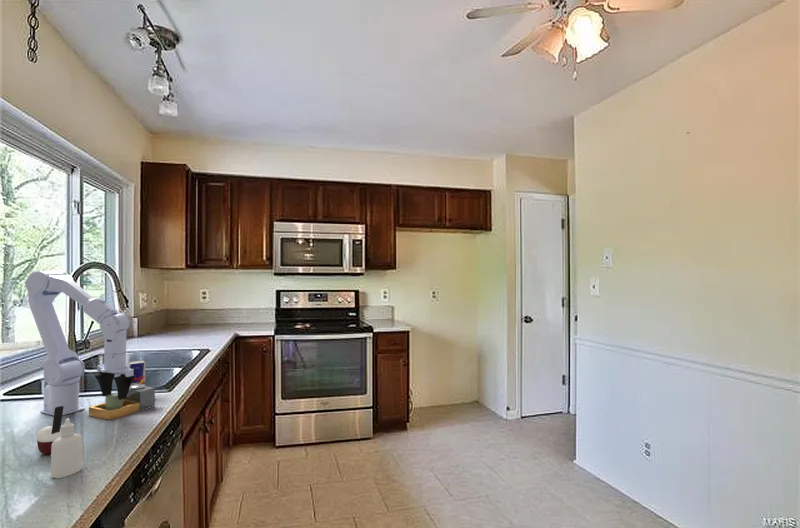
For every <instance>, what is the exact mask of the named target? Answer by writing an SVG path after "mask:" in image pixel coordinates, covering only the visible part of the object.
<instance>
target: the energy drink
mask: <svg viewBox="0 0 800 528" xmlns="http://www.w3.org/2000/svg"><path fill="white" fill-rule="evenodd" d="M127 367H129V368H130V369H134V371H133V375H135V378H134V380H133V382H132V383H131V385H133V384H144V385H145V386H146V362H145V360H131V361H128V364H127Z"/></svg>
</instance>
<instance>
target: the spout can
mask: <svg viewBox="0 0 800 528" xmlns="http://www.w3.org/2000/svg"><path fill="white" fill-rule="evenodd" d="M127 398H128V395H127ZM104 401H105V402H104V403H105V410H114V409H117V408H121V407H123V399H122V400H119V399H118V392H115V393H111V394H109V395H107V396H105V400H104Z"/></svg>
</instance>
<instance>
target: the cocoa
mask: <svg viewBox="0 0 800 528" xmlns="http://www.w3.org/2000/svg"><path fill="white" fill-rule="evenodd" d="M63 408H64V407H63V406H60V407H56V408H55V411H54V416H53V419H52V425H48V426H44V427H42V428H41V429H40V430H38V432H37V435H36V439H37V441H36V443H37V448H38V452H39V453H40V454H42V455H45V456H51V446H52V443H53V442H54V441H55V440H56V439H57V438H59V437H60V436H61V426H62V420H63V416H64V415H63Z"/></svg>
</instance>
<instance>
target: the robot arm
mask: <svg viewBox="0 0 800 528" xmlns="http://www.w3.org/2000/svg"><path fill="white" fill-rule="evenodd" d="M24 285H25V288H26V291H27V293H28V296H27V298H28V301H27V302H28V306H29V309H30V311H31V314H32V316H33V319H34V322H35V324H36V327H37V329H38V330H37V331H38V332H39V336H40V339H41V340H42V344H43V346H44V349H45V351H46V354H47V357H46V358H45V360H44V361H43V362H42V363H41V364H42V368H43V374H42V375H43V378H44V381H45V382H46V383H47V385H46V386H45V388H44V391H43V409H41V410H40V411H39V412H40V413H42V414H47V415H50V416H53V417H54V411H55V408H56V407H60V406H63V407H64V408H63V415H62V416H65V415H69V414H72V413H76V412H80V411H85V409H86V407H83V406H79V405H80V402H79V401H80V400H79V397H80V396H79V394H80V381H81V377H82V376H83V375H84V373H85V371H86V366H85V363H84V361H83V360H81V358H80V357H79V355H78V353H77V352H75V351H74V350H72V349H70V348H69V344H68V342H67V339H66V336H65V334H64V331H63V329H62V326H61V323H60V321H59V318H58V315H57V313H56V309H55V307H54V304H53V302H54V301H55V299H57V297H58V296H59V295H60V294H61V293H62V294H64V295H66V296H68V297H69V298H70V299H72V300H74V301H75V302H76V303H78V304H79V305H81V306H82V307H83V312H84V314H86V315H87V316H89V317H90V318H91V319H92V320H93V321H94V322H96V323H97V324H99V329H100V331H101V332H102V334H103V335H102V336H103V340H104V344H103V347H104V348H103V349H104V350H103V351H104V352H103V353H104V355H103V363H101V364H98V365H96V371H97V372H98V373H95V374H94V378H95V380H97V383H98V385H99V388H100V391H101V395H102V397H106V396H107V395H109V394H112V392H113V391H112V389H113V383H115V386H116V390H117V392H116V393H118V399H119V400H122V399H125V398H127V395H128V391H129V388H130V386H131V383H132V382H133V380H134V378H135V375H133V371H134V369H130V368H129V367H128V365H127V362H126V361H127V331H128V329H129V328H130V326H131V324H132V321H131V318H130V316H129V315H128V314H127V313H125V312H119V311H118V310H117V309H116V308H113V307H112V306H110V304H108V303H107V300H106V299H104V298H100V297H95V298H94V297H92V296H91V295H90V294H89V293H88V292H87V291H85V290H84V289H83V287H81V286H80V285H79V284H78V283H77V282H76V281H74V279H73V276H71V275H70V274H68V273H67V272H66V271H64V270H59V269H58V270H42V271H41V270H34V271H32V272H31V273H30V274H29V275H28V276H27V278H26V280H25V281H24ZM116 375H120V376H116Z"/></svg>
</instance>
